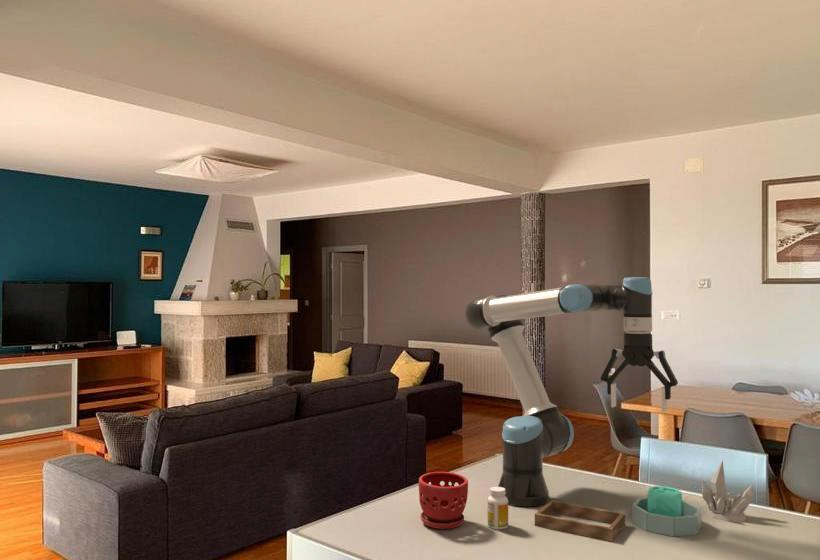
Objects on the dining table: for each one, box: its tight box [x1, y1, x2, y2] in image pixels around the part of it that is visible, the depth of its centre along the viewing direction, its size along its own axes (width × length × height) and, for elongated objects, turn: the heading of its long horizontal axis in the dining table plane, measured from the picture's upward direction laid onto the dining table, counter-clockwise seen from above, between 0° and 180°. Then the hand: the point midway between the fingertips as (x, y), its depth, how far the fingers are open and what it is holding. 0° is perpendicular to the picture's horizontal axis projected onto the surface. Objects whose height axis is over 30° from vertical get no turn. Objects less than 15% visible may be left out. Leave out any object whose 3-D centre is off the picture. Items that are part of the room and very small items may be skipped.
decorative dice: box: [647, 485, 683, 517], centre depth 166 cm, size 8×8×8 cm
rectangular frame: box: [534, 499, 626, 542], centre depth 165 cm, size 20×13×3 cm, turn 57°
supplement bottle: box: [487, 486, 509, 530], centre depth 165 cm, size 5×5×10 cm
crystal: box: [701, 460, 755, 523], centre depth 173 cm, size 10×13×15 cm
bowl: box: [631, 496, 702, 537], centre depth 166 cm, size 16×16×4 cm
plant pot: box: [418, 471, 469, 530], centre depth 167 cm, size 13×13×12 cm
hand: (638, 408), depth 175 cm, fingers open, 13 cm apart
